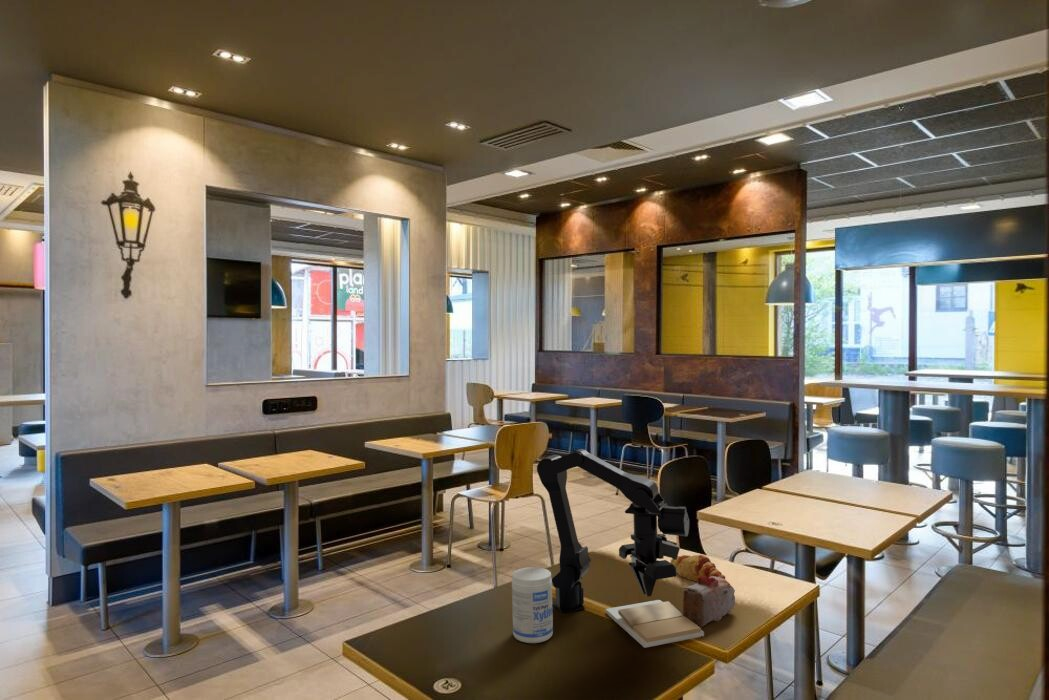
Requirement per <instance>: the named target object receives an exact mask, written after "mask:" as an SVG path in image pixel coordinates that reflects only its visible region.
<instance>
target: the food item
mask: <svg viewBox="0 0 1049 700" xmlns="http://www.w3.org/2000/svg"><path fill="white" fill-rule="evenodd" d="M697 580H698V582H696V583H694V584H693V585H689V586H687V587H685V588H683V595H682V596H683V597H682V598H683V599H682V601H683V602H682V611H683V612H682V613H683V615H684V616H685V617H686V618H688V619H689V620H691V621H692V622H693V623H695V624H696V625H699V627H700V626H702V627H701V628H703V627H705V626H706V625H707V624H709V623H711V622H712V621H715V622H719V620H720V621H721V620H722V619H723V617H725V616H726V615H727V614H728V613H730V612H731V610H733V609H734V608H735V605H736V596H735V591H736V589H734V587H733V586H732V585H731V583H730V582H729V581H727V579H726V578H725V579H723V578H721V577H716V576H711V577H709V576H708V577H706V576H704V577H702V576H701V577H700V578H697Z"/></svg>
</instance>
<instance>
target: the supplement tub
mask: <svg viewBox="0 0 1049 700" xmlns="http://www.w3.org/2000/svg"><path fill="white" fill-rule="evenodd" d="M511 576H512V577H511V598H512V600H511V601H512V603H511V605H512V607H511V608H512V609H511V610H512V633H513V637H514V638H515V639H516V640H517V641H519V642H522V643H525V644H538V643H543V642H545V641H548V640H549V639H550V638H551V637H552V636H553V633H554V625H553V624H554V621H553V620H554V617H553V615H554V613H553V583H552V578H553V577H552V572H551V571H550V570H549V569H546V568H543V567H536V566H531V567H530V566H529V567H522V568H519V569H516V570H514V571H513V572H512V574H511Z"/></svg>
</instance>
